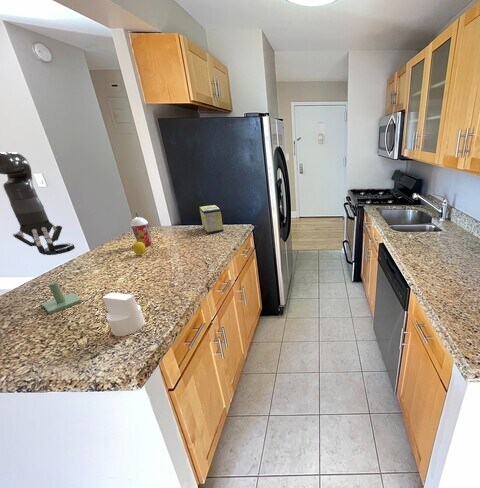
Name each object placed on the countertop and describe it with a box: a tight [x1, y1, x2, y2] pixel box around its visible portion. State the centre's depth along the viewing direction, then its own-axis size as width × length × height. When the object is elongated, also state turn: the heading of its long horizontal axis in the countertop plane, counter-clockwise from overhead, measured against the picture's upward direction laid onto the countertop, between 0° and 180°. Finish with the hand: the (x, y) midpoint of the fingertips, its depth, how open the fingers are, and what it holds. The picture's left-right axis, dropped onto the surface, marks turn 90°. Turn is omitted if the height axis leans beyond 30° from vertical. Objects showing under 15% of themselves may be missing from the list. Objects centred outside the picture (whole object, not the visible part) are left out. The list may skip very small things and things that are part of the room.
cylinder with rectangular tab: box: [102, 292, 146, 337], centre depth 84 cm, size 9×9×12 cm
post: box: [41, 281, 82, 315], centre depth 97 cm, size 9×9×9 cm
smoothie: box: [129, 212, 153, 248], centre depth 149 cm, size 8×8×20 cm
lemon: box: [132, 240, 147, 256], centre depth 139 cm, size 6×6×8 cm
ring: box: [44, 242, 76, 256], centre depth 104 cm, size 8×8×2 cm
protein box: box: [198, 204, 225, 235], centre depth 176 cm, size 10×16×16 cm
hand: (48, 253), depth 101 cm, fingers closed on ring, 1 cm apart
